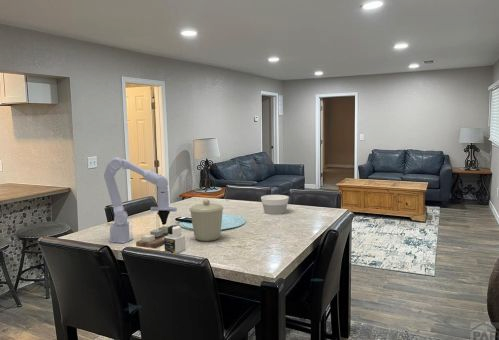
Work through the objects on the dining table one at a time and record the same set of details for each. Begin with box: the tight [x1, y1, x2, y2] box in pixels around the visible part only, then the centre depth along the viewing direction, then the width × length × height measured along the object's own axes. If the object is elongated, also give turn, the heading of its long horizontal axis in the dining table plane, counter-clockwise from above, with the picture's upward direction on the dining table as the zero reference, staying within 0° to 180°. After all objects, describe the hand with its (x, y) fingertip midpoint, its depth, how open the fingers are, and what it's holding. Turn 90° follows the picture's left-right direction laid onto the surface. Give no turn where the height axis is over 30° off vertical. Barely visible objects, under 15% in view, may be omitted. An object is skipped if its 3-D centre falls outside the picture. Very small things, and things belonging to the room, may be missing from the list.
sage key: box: [157, 225, 169, 233], centre depth 209 cm, size 5×5×2 cm
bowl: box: [260, 194, 290, 216], centre depth 266 cm, size 19×19×11 cm
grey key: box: [149, 228, 163, 237], centre depth 203 cm, size 5×5×2 cm
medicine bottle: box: [163, 224, 186, 254], centre depth 186 cm, size 7×7×12 cm
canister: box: [188, 198, 225, 242], centre depth 204 cm, size 18×18×21 cm
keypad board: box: [135, 233, 182, 249], centre depth 203 cm, size 12×22×2 cm, turn 157°
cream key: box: [141, 233, 155, 242], centre depth 197 cm, size 5×5×2 cm
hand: (164, 224), depth 209 cm, fingers closed
